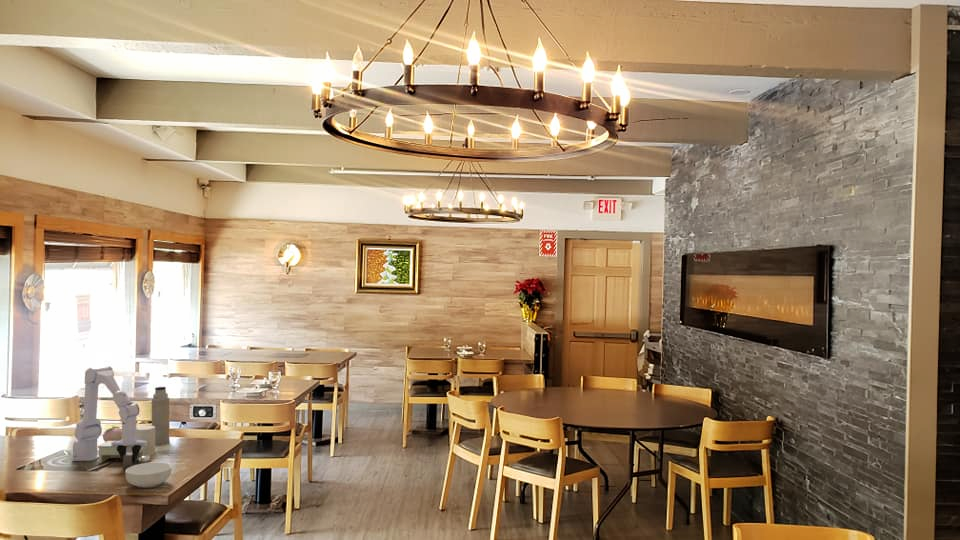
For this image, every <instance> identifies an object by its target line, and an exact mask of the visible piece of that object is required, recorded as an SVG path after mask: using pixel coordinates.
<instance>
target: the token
mask: <svg viewBox="0 0 960 540" xmlns="http://www.w3.org/2000/svg"><path fill="white" fill-rule="evenodd" d="M150 455H151V454H150ZM150 455H141V456H138V462H139V463H138V462H137V463H138V464H143V463H144V462H147V463H150V462H151V456H150ZM149 461H150V462H149Z"/></svg>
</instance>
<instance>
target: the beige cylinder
mask: <svg viewBox="0 0 960 540" xmlns="http://www.w3.org/2000/svg"><path fill="white" fill-rule="evenodd" d="M136 440H141V441H147V445H146V446H144V455H148V454H150V455H153V454H155V453H156V445H155V426H152V425H145V426H144V425H142V426H138V427H136ZM152 453H153V454H152Z"/></svg>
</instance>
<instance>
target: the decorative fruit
mask: <svg viewBox="0 0 960 540" xmlns="http://www.w3.org/2000/svg"><path fill="white" fill-rule="evenodd" d="M102 439H103V441H104V443H105V442H107V441H122V428H121V429H120V427H119V426H112V427H109V428H107V429H106V430H105V431H104V432H103V434H102Z"/></svg>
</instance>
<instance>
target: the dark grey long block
mask: <svg viewBox="0 0 960 540" xmlns="http://www.w3.org/2000/svg"><path fill="white" fill-rule="evenodd" d="M137 464H138V457H137V460H136V462H135V463H133V454H132V452H126V453H125V454H124V455H123V463H122V470H126V469H127V468H129V467H131V466H134V465H137Z"/></svg>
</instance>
